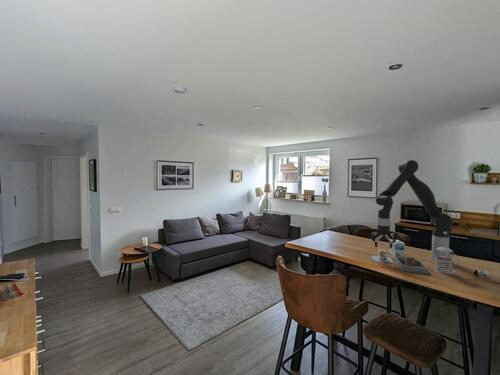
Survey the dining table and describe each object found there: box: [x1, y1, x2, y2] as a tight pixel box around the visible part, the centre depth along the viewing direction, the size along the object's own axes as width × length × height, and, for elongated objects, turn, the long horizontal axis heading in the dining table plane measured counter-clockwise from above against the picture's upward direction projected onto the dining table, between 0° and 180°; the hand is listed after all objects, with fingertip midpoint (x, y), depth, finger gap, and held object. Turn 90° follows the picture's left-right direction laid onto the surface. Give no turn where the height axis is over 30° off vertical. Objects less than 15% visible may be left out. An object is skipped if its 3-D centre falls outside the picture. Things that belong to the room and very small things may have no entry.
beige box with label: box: [377, 248, 388, 260], centre depth 165 cm, size 4×4×6 cm
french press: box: [434, 232, 460, 276], centre depth 143 cm, size 10×12×25 cm
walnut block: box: [404, 254, 416, 267], centre depth 153 cm, size 4×4×6 cm
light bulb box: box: [388, 238, 406, 258], centre depth 175 cm, size 11×7×11 cm, turn 169°
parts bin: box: [395, 257, 429, 275], centre depth 149 cm, size 14×16×4 cm
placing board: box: [371, 255, 394, 264], centre depth 165 cm, size 12×12×1 cm
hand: (383, 247), depth 164 cm, fingers open, 8 cm apart
